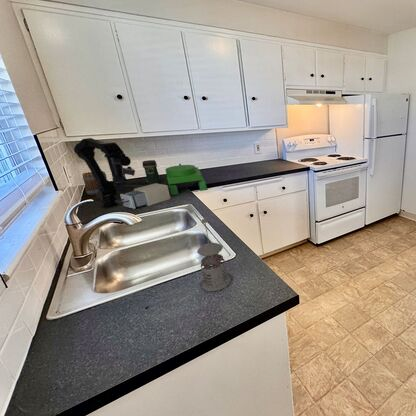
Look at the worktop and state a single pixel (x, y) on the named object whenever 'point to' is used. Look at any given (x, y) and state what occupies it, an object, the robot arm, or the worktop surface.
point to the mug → (91, 183)
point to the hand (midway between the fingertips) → (122, 190)
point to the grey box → (155, 193)
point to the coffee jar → (151, 171)
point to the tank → (184, 177)
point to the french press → (214, 276)
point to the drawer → (128, 199)
